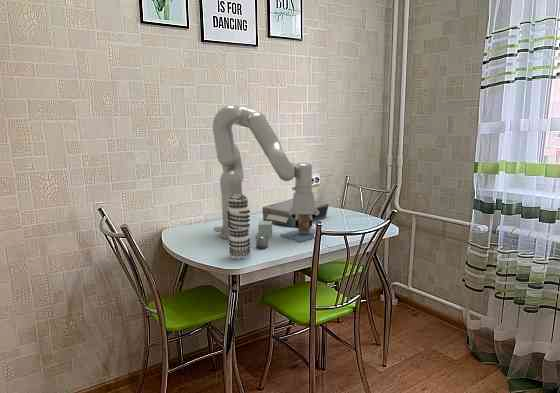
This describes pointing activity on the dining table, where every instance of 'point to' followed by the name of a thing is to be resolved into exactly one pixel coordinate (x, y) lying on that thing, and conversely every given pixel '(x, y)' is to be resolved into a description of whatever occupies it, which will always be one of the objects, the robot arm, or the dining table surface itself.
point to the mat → (299, 235)
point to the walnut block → (303, 223)
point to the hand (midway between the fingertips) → (303, 227)
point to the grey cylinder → (261, 241)
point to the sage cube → (265, 228)
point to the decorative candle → (239, 226)
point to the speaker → (281, 216)
